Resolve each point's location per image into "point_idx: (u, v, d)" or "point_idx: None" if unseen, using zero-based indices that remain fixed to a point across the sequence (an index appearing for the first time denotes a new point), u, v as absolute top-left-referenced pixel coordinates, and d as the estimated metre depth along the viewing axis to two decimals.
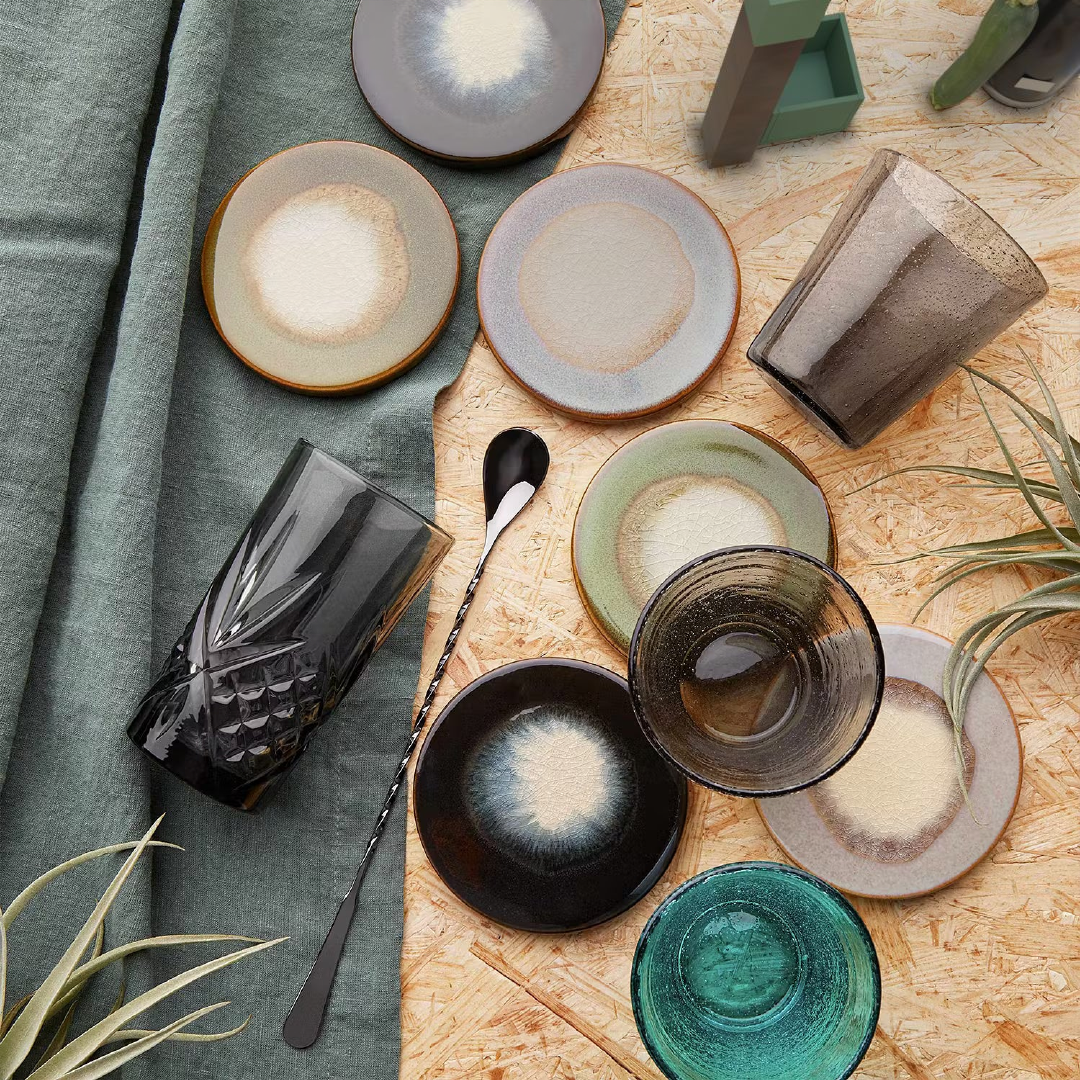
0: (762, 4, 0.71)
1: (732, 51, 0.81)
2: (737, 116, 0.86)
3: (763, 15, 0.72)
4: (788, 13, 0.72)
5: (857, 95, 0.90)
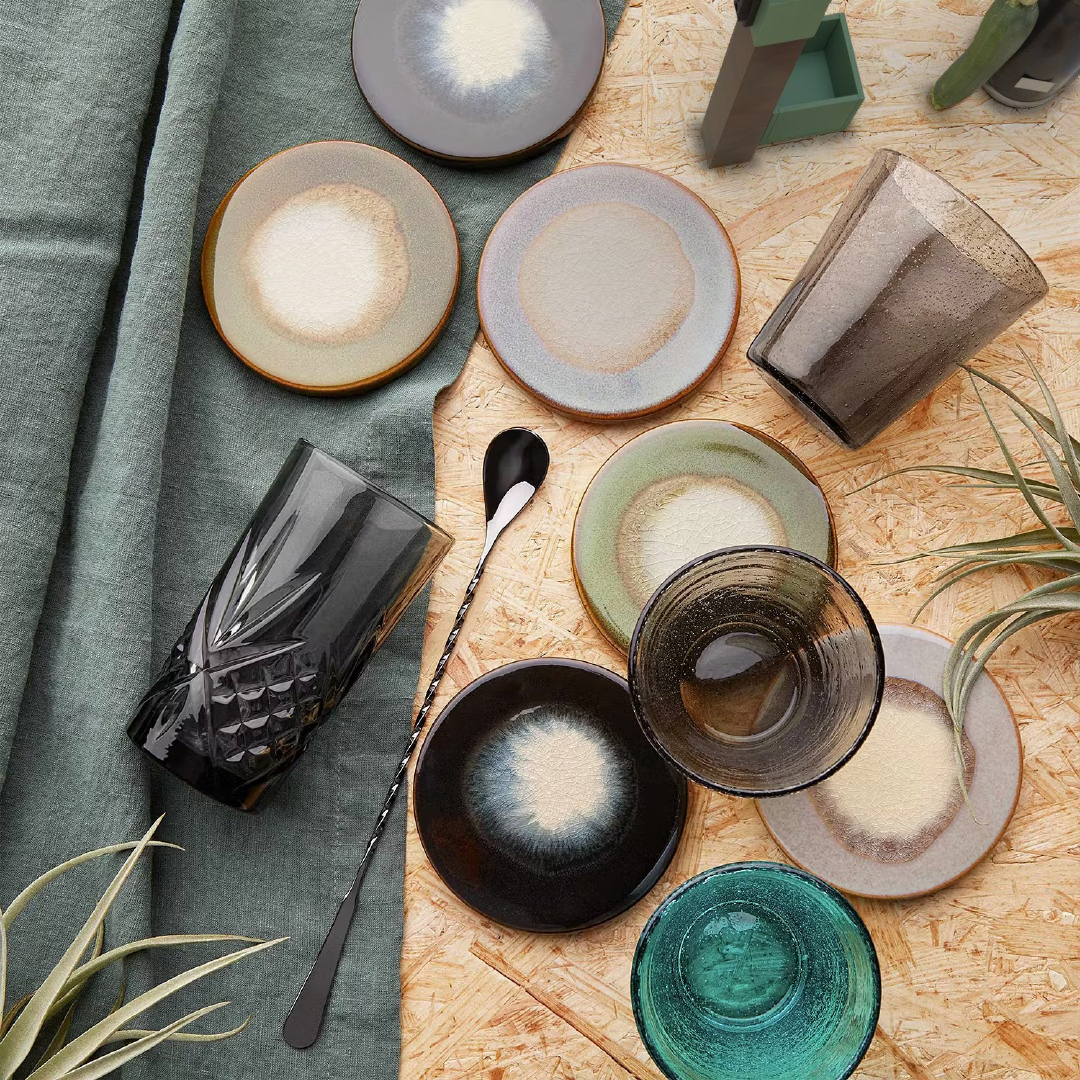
0: (763, 4, 0.71)
1: (732, 51, 0.81)
2: (737, 116, 0.86)
3: (763, 15, 0.72)
4: (788, 13, 0.72)
5: (857, 95, 0.90)
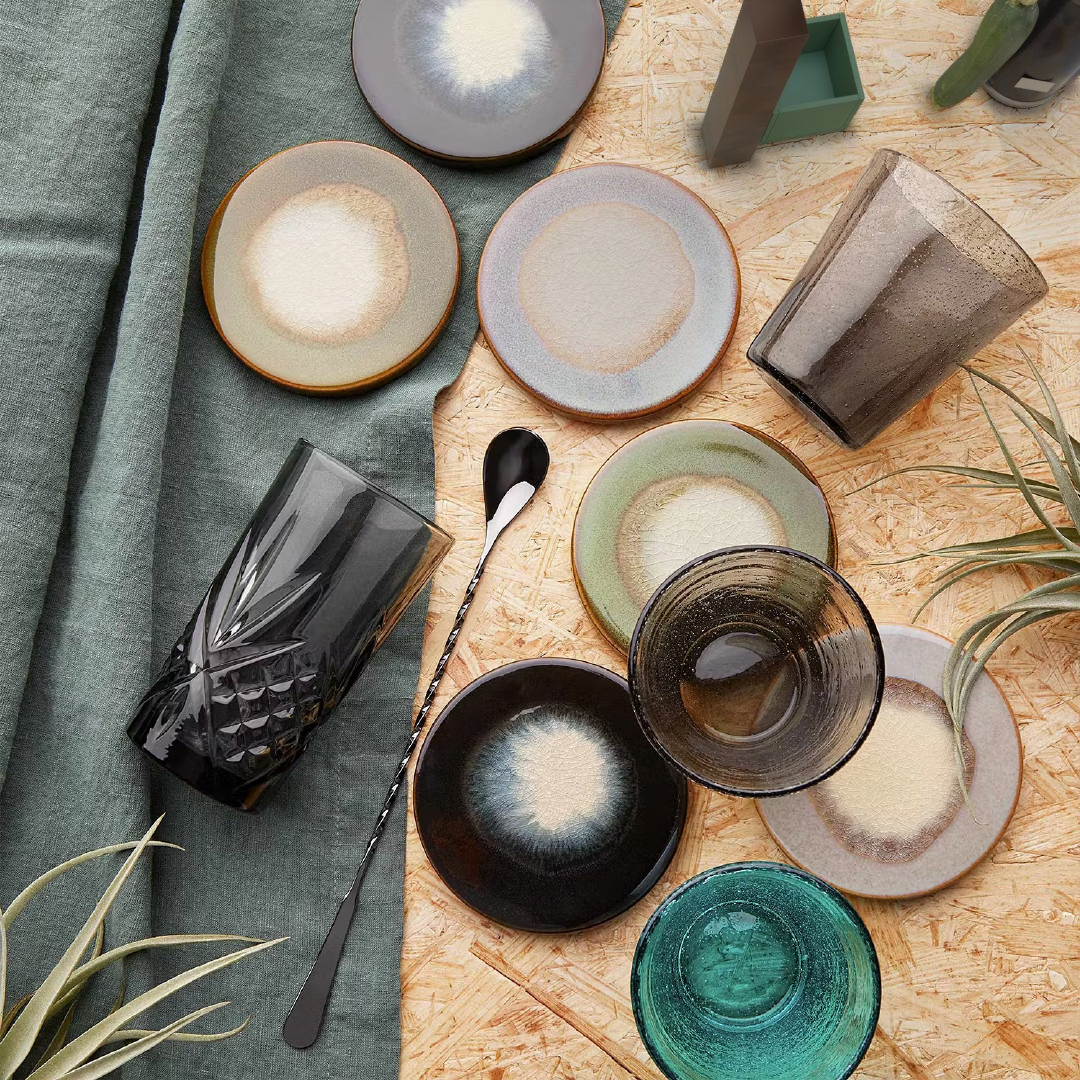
0: None
1: (732, 51, 0.81)
2: (737, 116, 0.86)
3: None
4: None
5: (857, 95, 0.90)
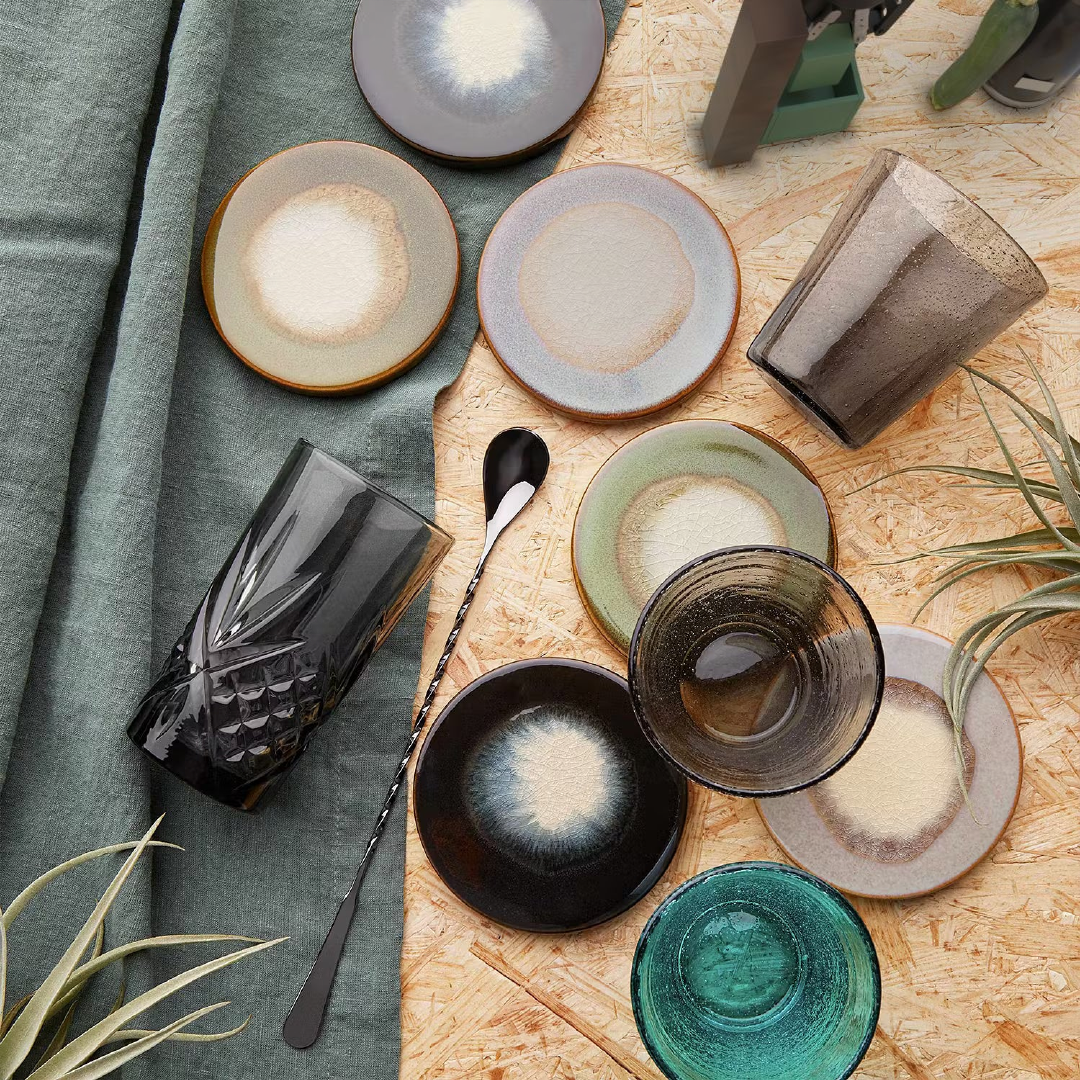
0: None
1: (732, 51, 0.81)
2: (737, 116, 0.86)
3: (797, 68, 0.87)
4: (818, 67, 0.87)
5: (857, 95, 0.90)
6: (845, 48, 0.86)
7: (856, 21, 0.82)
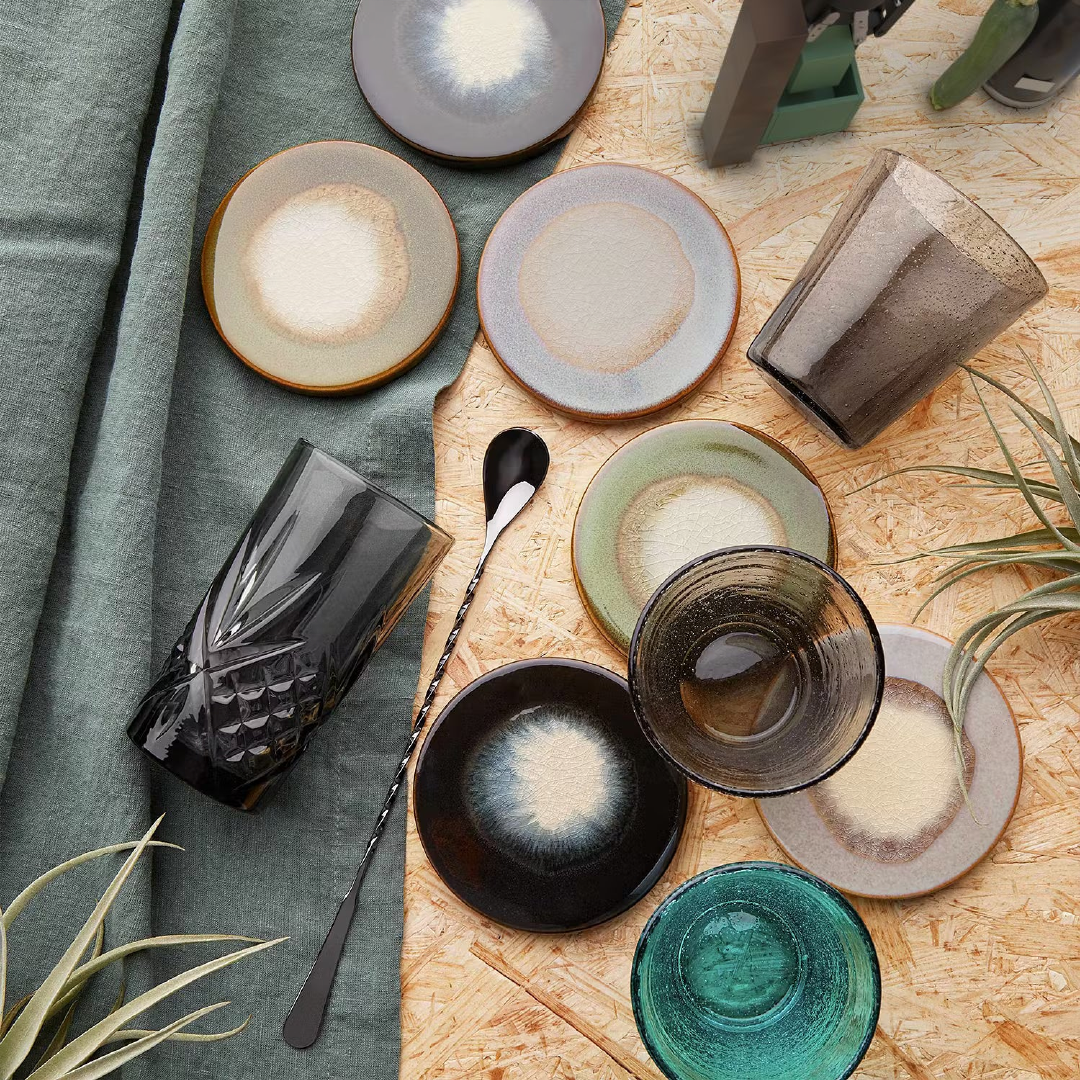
0: (797, 60, 0.87)
1: (732, 51, 0.81)
2: (737, 116, 0.86)
3: (797, 69, 0.87)
4: (818, 68, 0.87)
5: (857, 95, 0.90)
6: (844, 49, 0.86)
7: (856, 23, 0.83)
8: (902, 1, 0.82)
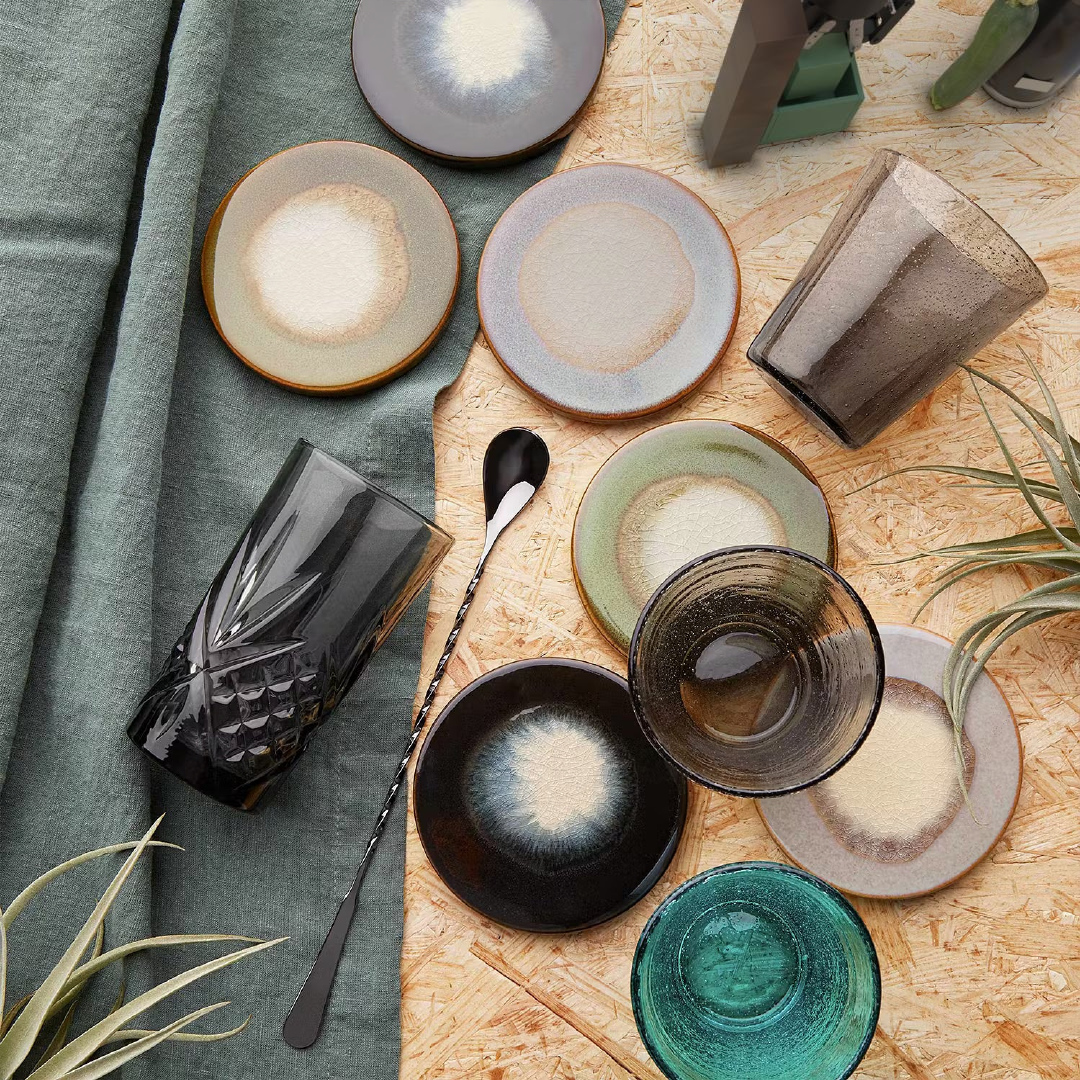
0: None
1: (732, 51, 0.81)
2: (737, 116, 0.86)
3: (794, 76, 0.88)
4: (814, 75, 0.88)
5: (857, 95, 0.90)
6: (840, 57, 0.87)
7: (851, 31, 0.84)
8: (897, 9, 0.83)
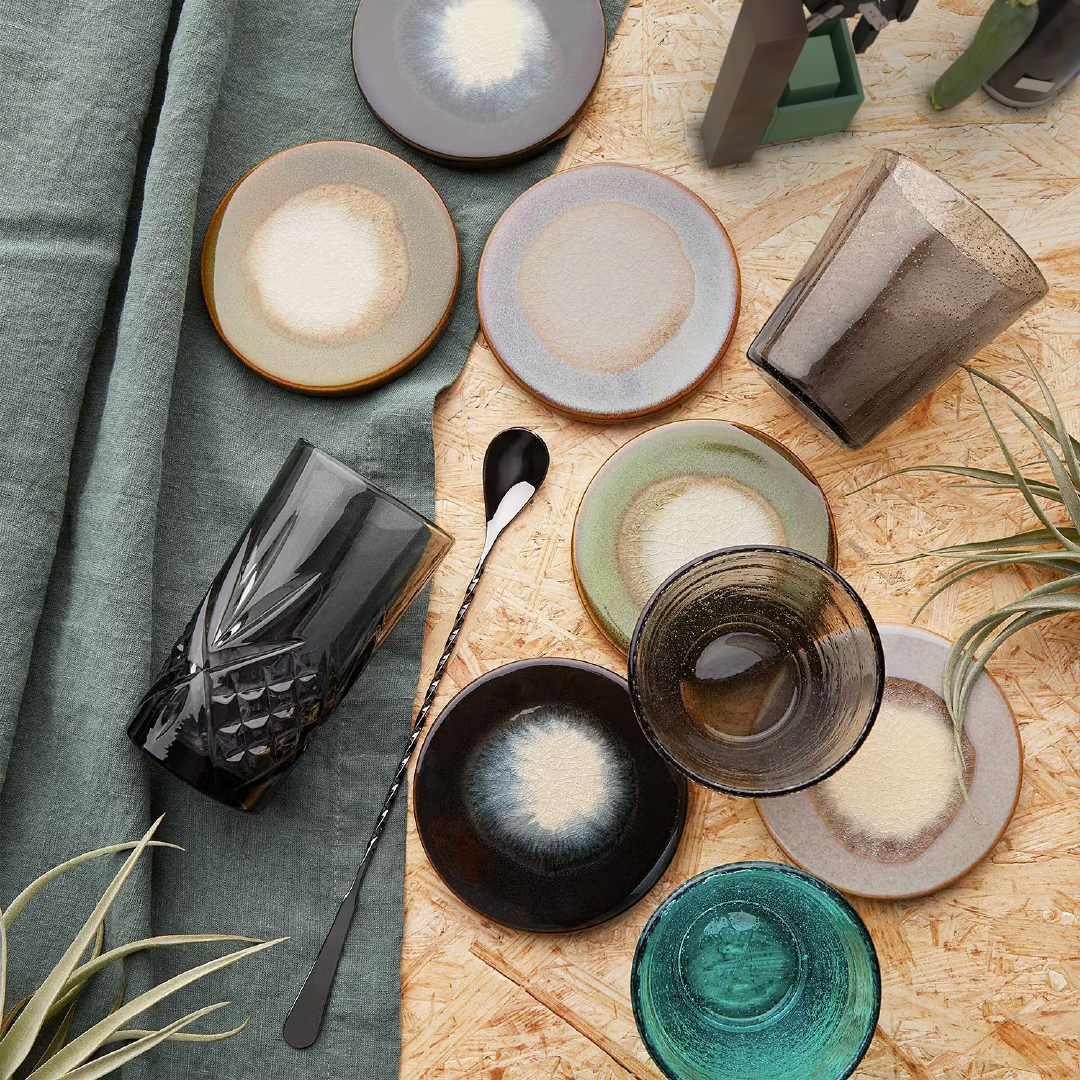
0: (784, 88, 0.91)
1: (732, 51, 0.81)
2: (737, 116, 0.86)
3: (785, 96, 0.92)
4: (804, 95, 0.92)
5: (857, 95, 0.90)
6: (829, 78, 0.90)
7: (865, 14, 0.82)
8: None
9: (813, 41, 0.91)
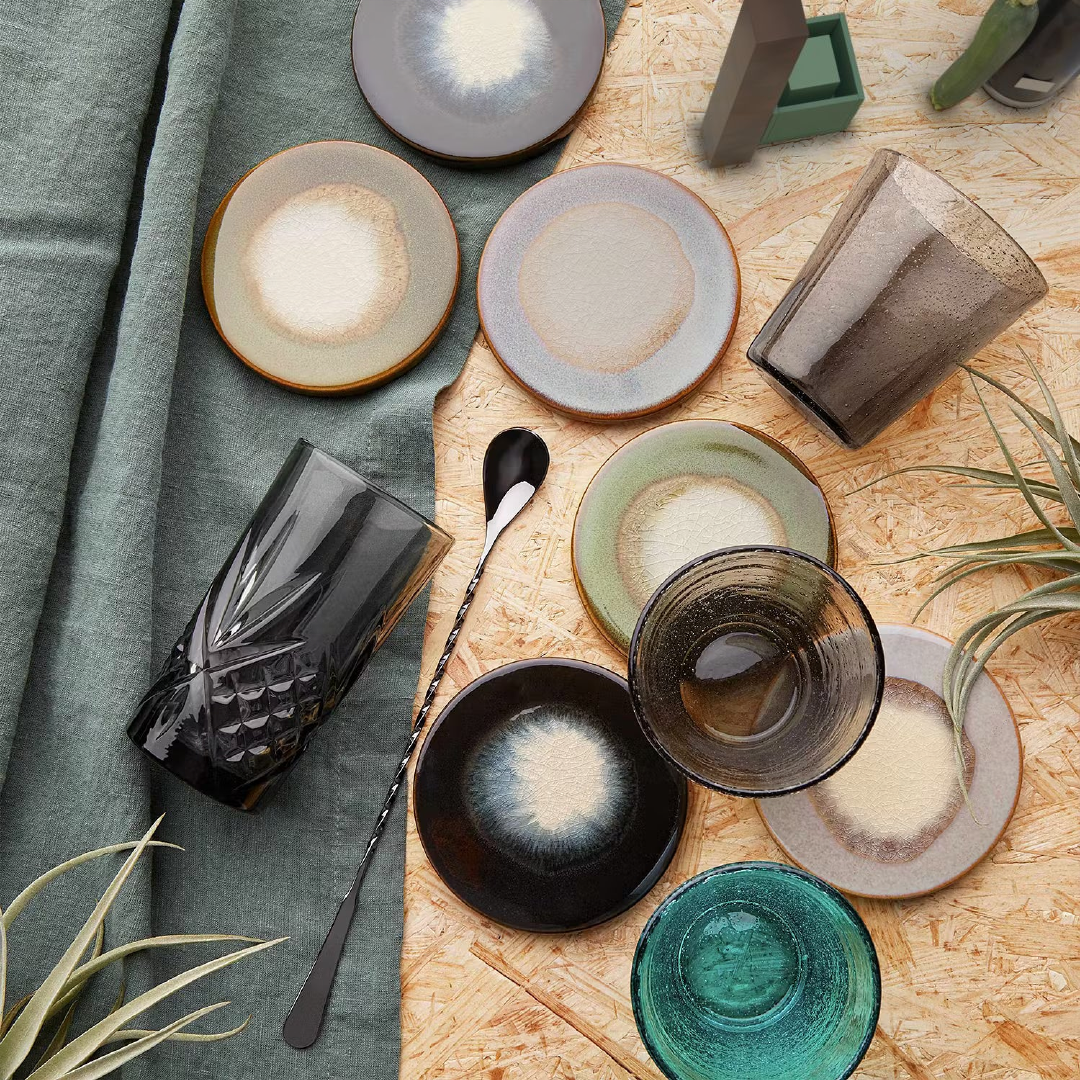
0: (784, 88, 0.91)
1: (732, 51, 0.81)
2: (737, 116, 0.86)
3: (785, 96, 0.92)
4: (804, 95, 0.92)
5: (857, 95, 0.90)
6: (829, 78, 0.90)
7: None
8: None
9: (813, 41, 0.91)
